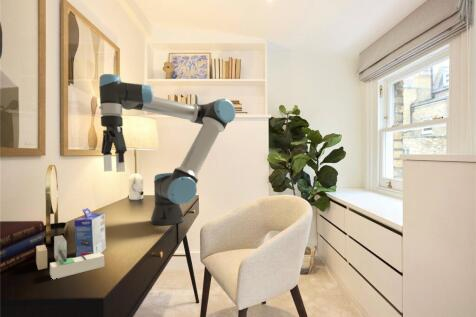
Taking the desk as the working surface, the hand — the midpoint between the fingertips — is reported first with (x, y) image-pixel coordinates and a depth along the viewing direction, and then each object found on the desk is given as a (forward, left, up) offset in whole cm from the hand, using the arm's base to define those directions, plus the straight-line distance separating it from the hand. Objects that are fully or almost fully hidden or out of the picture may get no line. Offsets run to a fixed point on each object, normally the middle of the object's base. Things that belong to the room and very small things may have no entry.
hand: (114, 171), depth 102 cm
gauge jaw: (+19, +20, -25) cm, 37 cm away
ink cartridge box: (+11, +15, -26) cm, 32 cm away
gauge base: (+18, +20, -25) cm, 37 cm away
